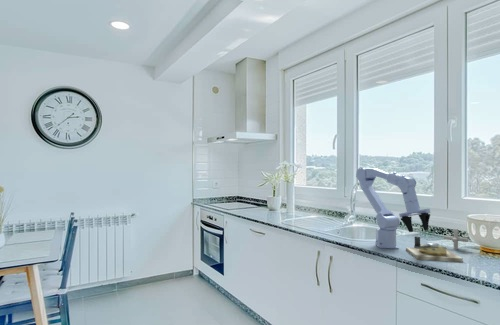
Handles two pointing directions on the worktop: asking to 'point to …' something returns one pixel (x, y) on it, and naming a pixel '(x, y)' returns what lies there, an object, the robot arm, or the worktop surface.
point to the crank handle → (430, 248)
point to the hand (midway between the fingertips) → (418, 231)
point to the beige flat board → (434, 256)
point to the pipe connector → (456, 239)
